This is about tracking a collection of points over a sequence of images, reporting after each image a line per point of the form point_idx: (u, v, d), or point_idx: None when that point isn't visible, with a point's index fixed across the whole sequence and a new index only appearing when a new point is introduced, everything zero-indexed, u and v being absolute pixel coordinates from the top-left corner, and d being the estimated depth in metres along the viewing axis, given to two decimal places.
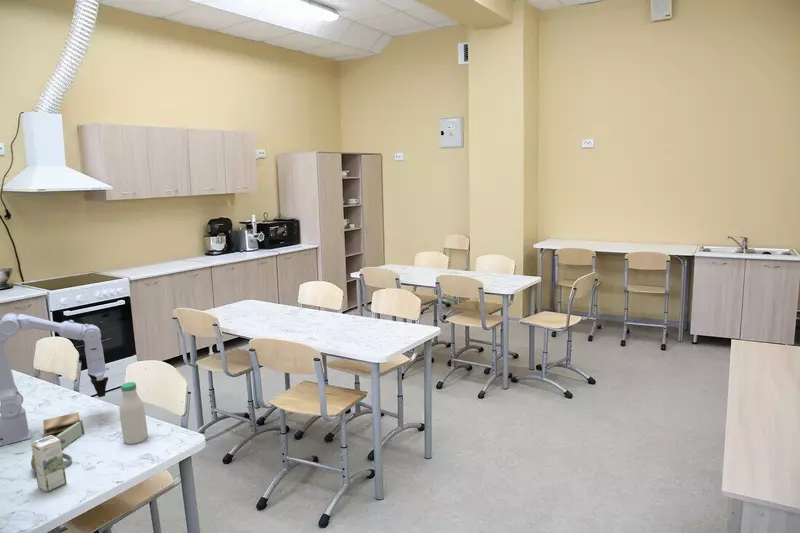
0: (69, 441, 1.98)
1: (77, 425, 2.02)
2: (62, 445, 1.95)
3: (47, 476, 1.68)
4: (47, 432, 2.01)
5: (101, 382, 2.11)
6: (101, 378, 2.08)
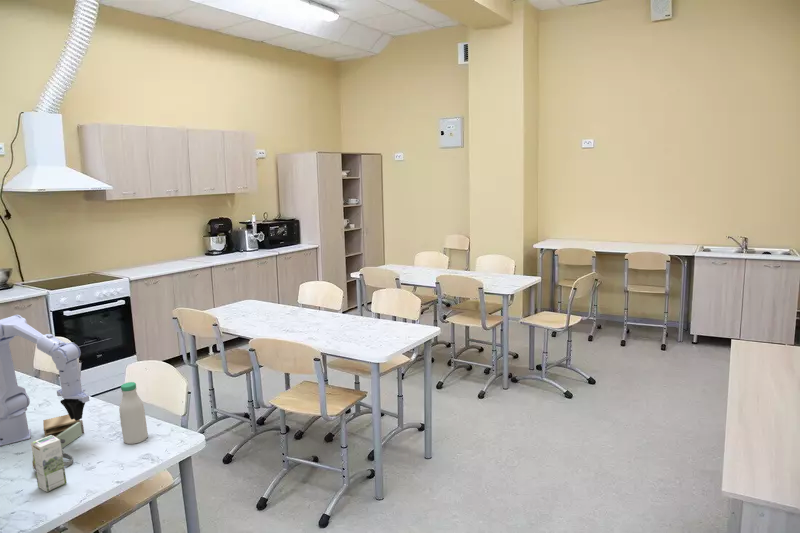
0: (69, 441, 1.98)
1: (77, 425, 2.02)
2: (62, 445, 1.95)
3: (47, 476, 1.68)
4: (47, 432, 2.01)
5: (78, 403, 1.93)
6: (87, 399, 1.90)
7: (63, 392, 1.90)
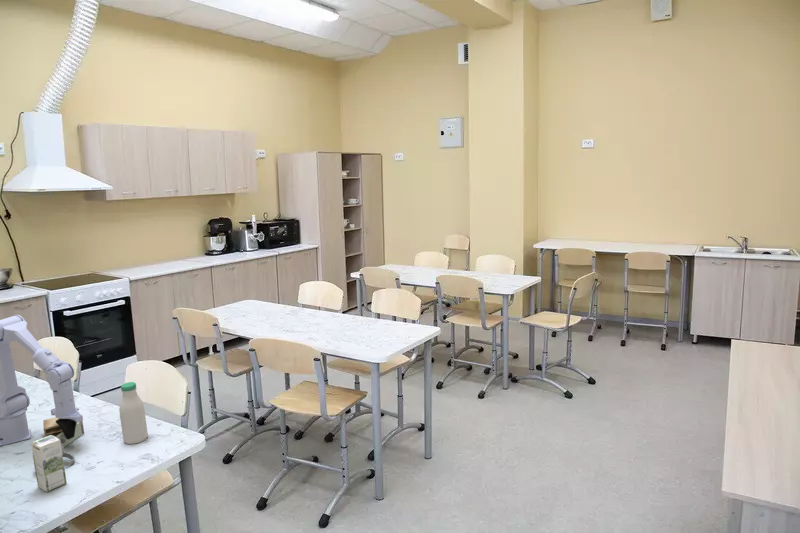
0: (69, 441, 1.98)
1: (77, 425, 2.02)
2: None
3: (47, 476, 1.68)
4: (47, 432, 2.01)
5: (70, 422, 1.95)
6: (81, 419, 1.92)
7: (57, 412, 1.92)
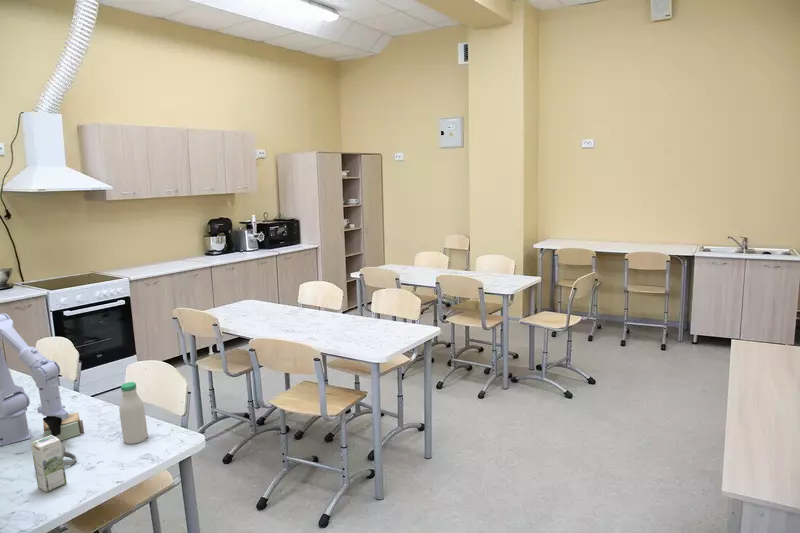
0: (59, 439, 2.00)
1: (73, 425, 2.02)
2: None
3: (47, 476, 1.68)
4: None
5: (56, 419, 1.98)
6: (67, 416, 1.94)
7: (43, 409, 1.94)
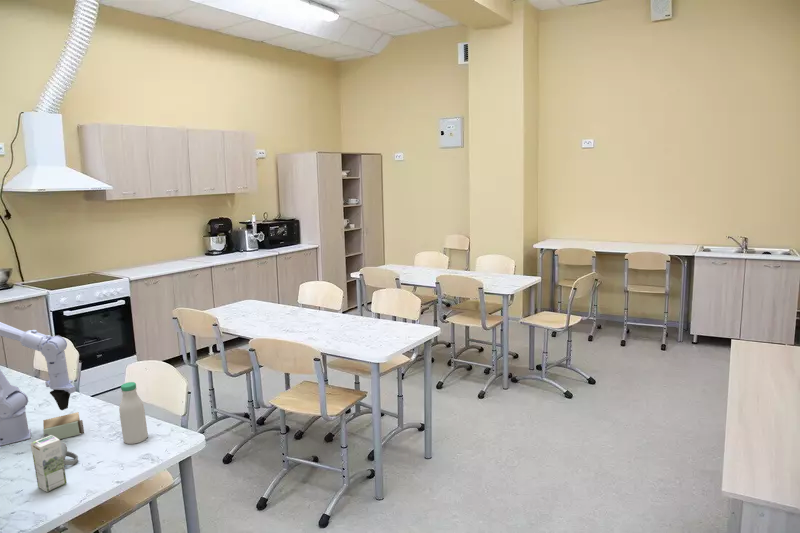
0: (59, 437, 2.01)
1: (73, 424, 2.03)
2: None
3: (47, 476, 1.68)
4: None
5: (64, 394, 2.02)
6: (74, 390, 1.98)
7: (51, 383, 1.99)
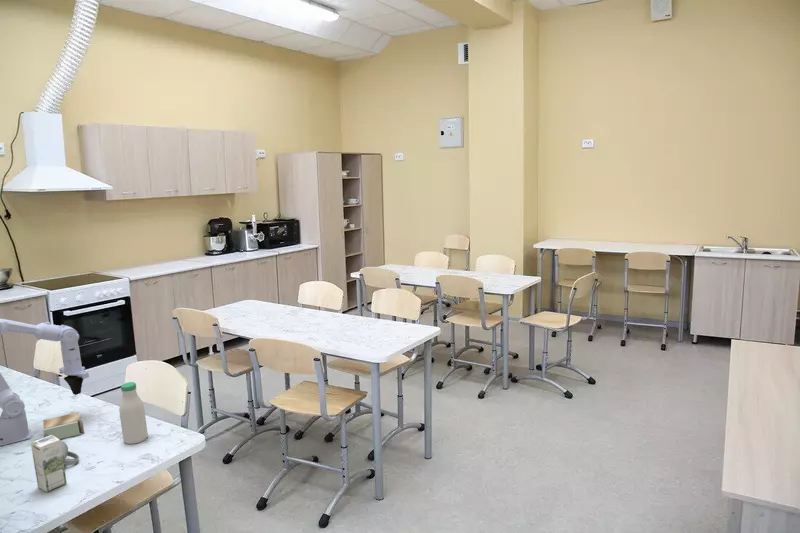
0: (59, 437, 2.01)
1: (73, 424, 2.03)
2: None
3: (47, 476, 1.68)
4: None
5: (77, 379, 2.15)
6: (87, 376, 2.11)
7: (65, 369, 2.12)
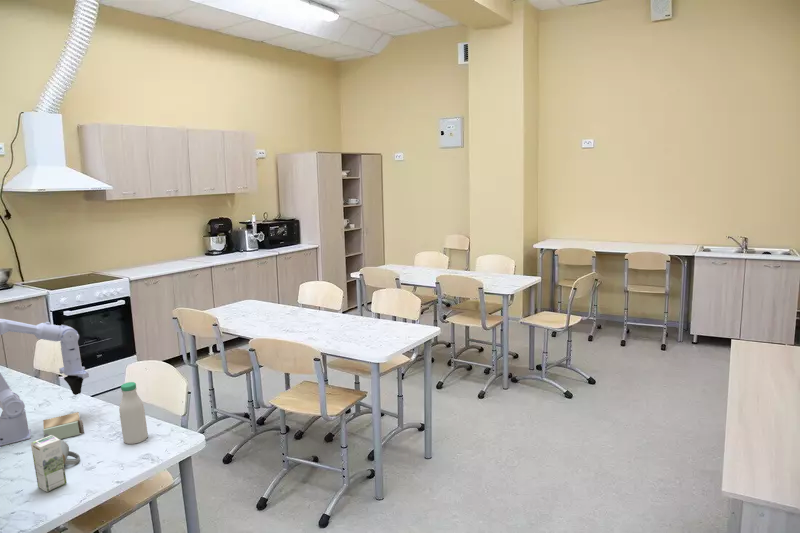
0: (59, 437, 2.01)
1: (73, 424, 2.03)
2: None
3: (47, 476, 1.68)
4: None
5: (77, 379, 2.15)
6: (87, 376, 2.11)
7: (65, 369, 2.12)
